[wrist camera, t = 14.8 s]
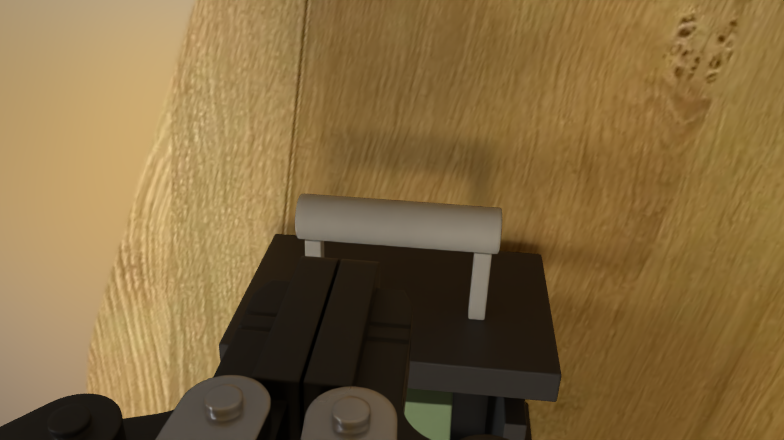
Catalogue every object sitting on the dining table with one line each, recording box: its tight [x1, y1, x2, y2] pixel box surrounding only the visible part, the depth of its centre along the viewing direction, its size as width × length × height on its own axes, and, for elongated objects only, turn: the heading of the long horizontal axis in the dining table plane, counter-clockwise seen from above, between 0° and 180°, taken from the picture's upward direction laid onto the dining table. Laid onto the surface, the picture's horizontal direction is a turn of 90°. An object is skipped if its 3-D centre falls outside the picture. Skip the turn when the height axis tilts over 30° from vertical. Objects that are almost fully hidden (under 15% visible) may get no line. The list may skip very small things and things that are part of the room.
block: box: [404, 388, 453, 440], centre depth 30 cm, size 5×5×5 cm
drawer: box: [219, 194, 561, 440], centre depth 29 cm, size 18×12×8 cm, turn 178°
